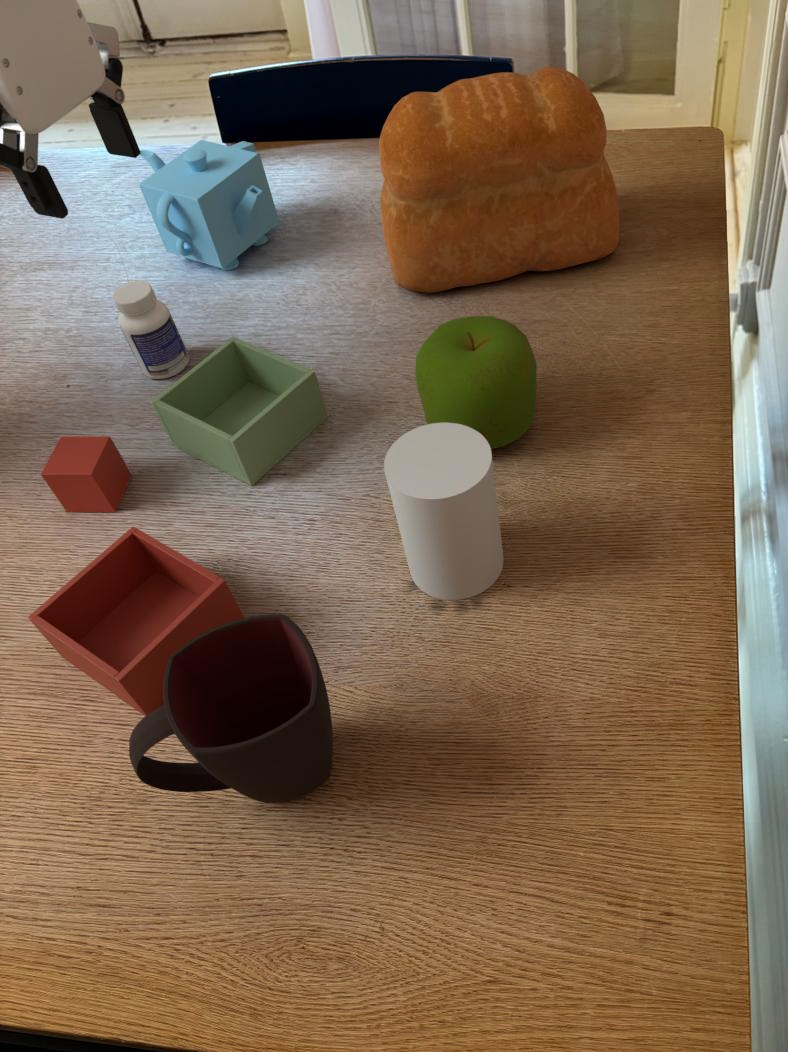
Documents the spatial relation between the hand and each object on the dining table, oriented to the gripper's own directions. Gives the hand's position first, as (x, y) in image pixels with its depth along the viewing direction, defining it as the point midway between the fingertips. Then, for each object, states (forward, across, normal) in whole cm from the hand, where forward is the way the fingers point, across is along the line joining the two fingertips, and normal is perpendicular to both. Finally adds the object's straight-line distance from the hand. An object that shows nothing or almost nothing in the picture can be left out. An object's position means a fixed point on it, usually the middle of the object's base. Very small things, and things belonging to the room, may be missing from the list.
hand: (90, 183), depth 74 cm
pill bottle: (+23, -4, -6) cm, 24 cm away
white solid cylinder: (+23, +11, +36) cm, 44 cm away
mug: (+23, +34, +32) cm, 52 cm away
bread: (+23, -34, +21) cm, 46 cm away
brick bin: (+22, +27, +16) cm, 39 cm away
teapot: (+23, -26, -12) cm, 36 cm away
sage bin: (+22, +2, +10) cm, 25 cm away
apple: (+23, -5, +32) cm, 39 cm away
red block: (+22, +15, 0) cm, 27 cm away
